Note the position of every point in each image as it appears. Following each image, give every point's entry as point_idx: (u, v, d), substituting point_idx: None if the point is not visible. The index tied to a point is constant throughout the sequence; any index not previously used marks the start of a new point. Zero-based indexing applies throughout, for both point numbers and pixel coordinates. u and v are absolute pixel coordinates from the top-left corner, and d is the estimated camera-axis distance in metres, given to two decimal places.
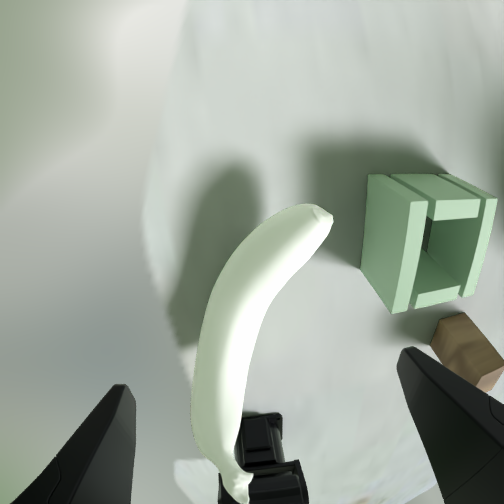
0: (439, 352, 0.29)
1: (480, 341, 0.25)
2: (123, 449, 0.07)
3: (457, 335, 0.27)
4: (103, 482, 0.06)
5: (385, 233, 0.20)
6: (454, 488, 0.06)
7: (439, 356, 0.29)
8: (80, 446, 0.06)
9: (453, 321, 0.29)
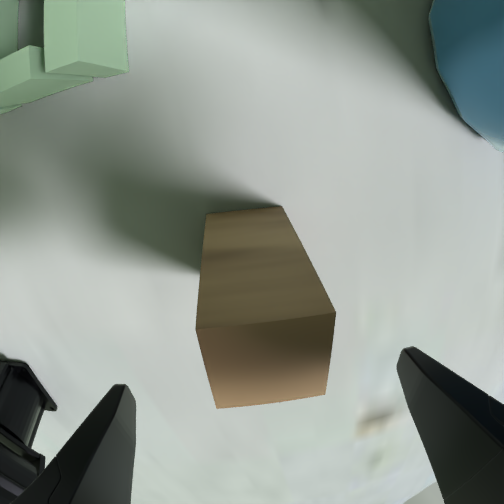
0: None
1: (276, 250, 0.12)
2: (123, 449, 0.07)
3: (219, 236, 0.14)
4: (103, 482, 0.06)
5: None
6: (454, 488, 0.06)
7: None
8: (80, 446, 0.06)
9: (236, 216, 0.16)
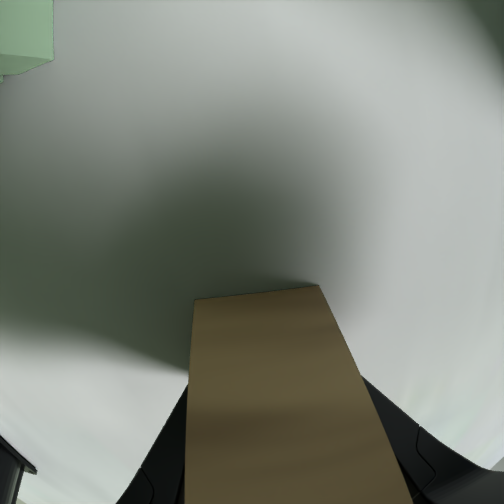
0: None
1: (326, 420, 0.06)
2: None
3: (215, 369, 0.07)
4: None
5: None
6: None
7: None
8: (169, 452, 0.06)
9: (245, 311, 0.09)
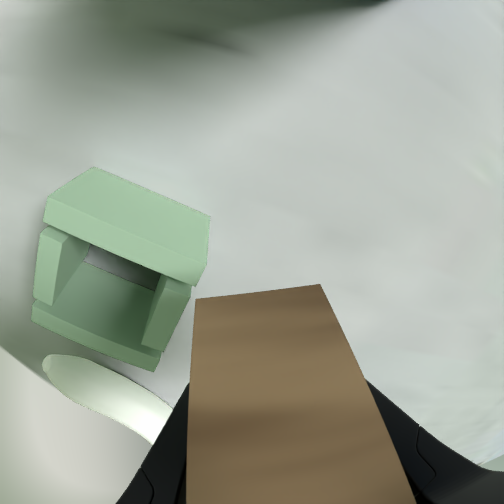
0: None
1: (328, 418, 0.06)
2: None
3: (217, 368, 0.07)
4: None
5: None
6: None
7: None
8: (169, 452, 0.06)
9: (246, 310, 0.09)
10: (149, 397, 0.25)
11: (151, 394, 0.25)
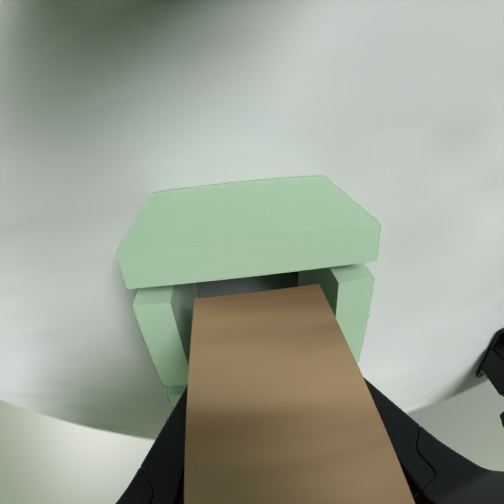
0: None
1: (326, 419, 0.06)
2: None
3: (216, 367, 0.07)
4: None
5: None
6: None
7: None
8: (169, 452, 0.06)
9: (245, 310, 0.09)
10: None
11: None
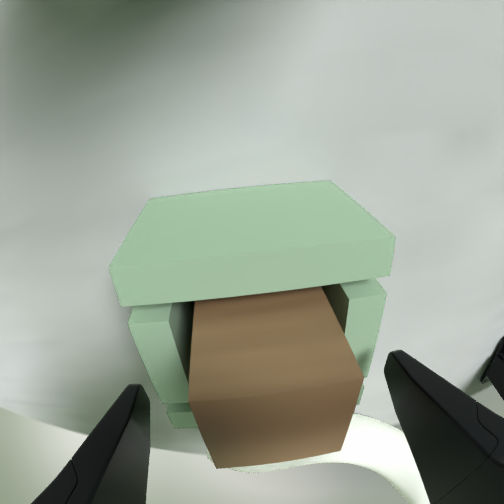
0: None
1: None
2: (139, 450, 0.07)
3: None
4: (120, 484, 0.06)
5: None
6: (441, 494, 0.06)
7: None
8: (96, 448, 0.06)
9: None
10: None
11: None
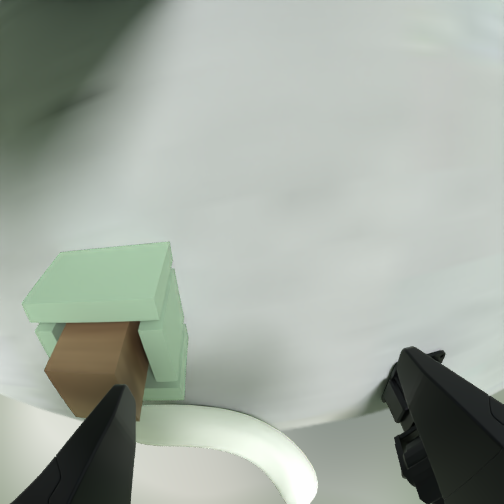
0: None
1: None
2: (123, 449, 0.07)
3: None
4: (103, 482, 0.06)
5: None
6: (454, 488, 0.06)
7: None
8: (80, 446, 0.06)
9: None
10: (220, 414, 0.26)
11: (223, 411, 0.27)
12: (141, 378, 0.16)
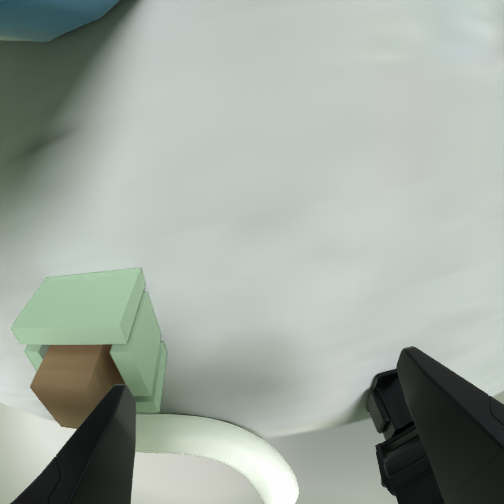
0: None
1: None
2: (123, 449, 0.07)
3: None
4: (103, 482, 0.06)
5: None
6: (454, 488, 0.06)
7: None
8: (80, 446, 0.06)
9: None
10: (204, 424, 0.27)
11: (207, 420, 0.28)
12: None
